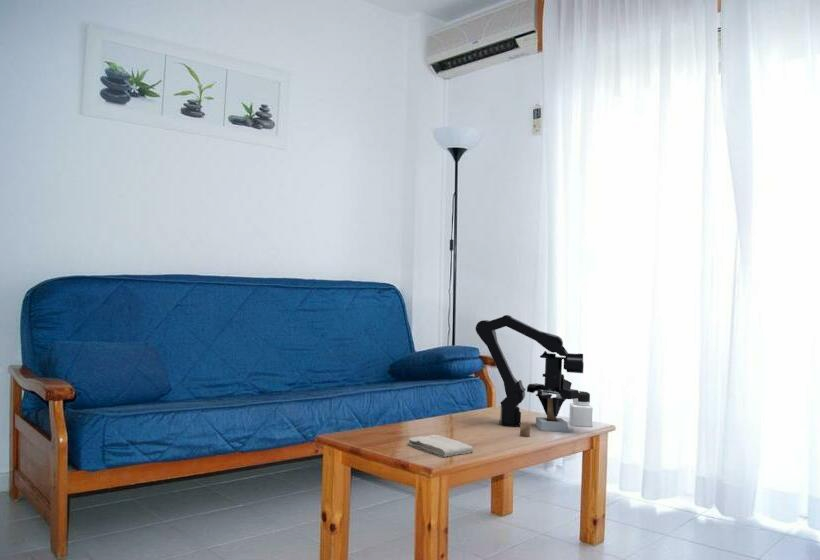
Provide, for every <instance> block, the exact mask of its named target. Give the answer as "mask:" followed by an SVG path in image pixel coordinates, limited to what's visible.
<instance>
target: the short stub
mask: <svg viewBox="0 0 820 560" xmlns="http://www.w3.org/2000/svg"><path fill="white" fill-rule="evenodd" d="M519 427H520V429H519V430H520V431H519V436H520V437H522V438H523V437H525V438H530V437H531V423H529V422H521V423H520V426H519Z"/></svg>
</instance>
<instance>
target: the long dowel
mask: <svg viewBox="0 0 820 560" xmlns="http://www.w3.org/2000/svg"><path fill="white" fill-rule="evenodd" d="M546 417H547V421H556V418H557V417H555V416H554V410H553V397H551V398H548V403H547V415H546Z"/></svg>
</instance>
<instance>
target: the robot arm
mask: <svg viewBox="0 0 820 560" xmlns="http://www.w3.org/2000/svg"><path fill="white" fill-rule="evenodd" d="M504 327H505V328H509V329H511V330H513V331H515V332H518V333H519V334H521V335H523V336H525V337H528V338H530V339H531V340H534V341H535V342H537V343H538V344H539V345H540V346H541V347H543V348H544V349H545V350H544V351H543V353H541V355H540V356H539V358H541V359H544V360H545V365H544V367H545V368H544V373H542V378H544V384H542V383H529V384H528V385H527V386H526V388H525V387H524V385H523V381H522V379H519V380H517V378H515V376H514V375H513V372H512V370H511V368H510V366H509V364H508V361H507V360H506V357H505V355H504V353H503V351H502V348H501V347H500V344H499V342H498V337H497V333H496V330H499V329H502V328H504ZM475 332H476V334H477V336H479V338H480V339H481V341H482V342H483V343H484V345H485V346H486V347H487V349H488V351H489V353H490V355H491V358H492V360H493V362H494V364H495V366H496V368H497V370H498V372H499V375H500V377H501V379H502V381H503V387H504V392H505V395H506V396H505V398H503V399H502V400H501V402H500V416H499V417H500V418H499V419H500V420H499V421H498V423H499V425H501V426H503V427H504V426H506V427H507V426H508V427H509V426H511V427H520V423H522V422H521V419H522V412H521V411H520V407H519V404H521V403H522V402H523V401H524V399H526V398H525V397H526V393H531V394H534V393H535V392H537V394H535V396H536V397H537V398H538V400H539V402H540V404H541V405H542V408H543V410H544V412H545V415H546V416H547V403H548V398H553V410H554V416H555V417H556V418H558V415H559V412H560V410H561V407H562V406H563V403H564V402H565V401H566V400H573V399H577V398H579V392H578V391H579V390H578V389H573V388H572V385H573V383H572V382H571V381H569V380H567V379H565V375H564V374H563V373H562V367H563V370H565V371H566V373H573V374H584V366H585V365H584V364H585V363H584V354H583V353H572V352H571V353H569V352H568V351H567V349H566V348H565V347H564V341H563V339H562V338H561V337H560V336H559V335H556V334H553V333H549V332H545V331H542V330H539V329H537V328H535V327H532V326H530V325H528V324H527V323H525V322H522V321H520V320H518V319H516V318H514V317H513V316H511V315H509V314H505V315H503V316H501V317H498V318H496V319H492V320H488V319H485V320H479V322H477V324H476V325H475ZM547 351H549V352H550V353H548V352H547ZM556 354H558V355H559V356H558V355H556ZM553 395H556V396H553ZM552 396H553V397H552Z"/></svg>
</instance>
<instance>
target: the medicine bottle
mask: <svg viewBox="0 0 820 560" xmlns="http://www.w3.org/2000/svg"><path fill="white" fill-rule="evenodd" d="M578 392H579V398H577V399H572V402H571V403H570V404H569V415H568V416H569V419H568V420H569V423H570V425H571V426H572V427H584V428H585V427H586V428H588V427H591V428H593V408H594V407H592V405H591V404H590V402H591V401H590V400H591V393H590V392H588V391H584V390H583V391H582V390H580V391H579V390H578Z"/></svg>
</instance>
